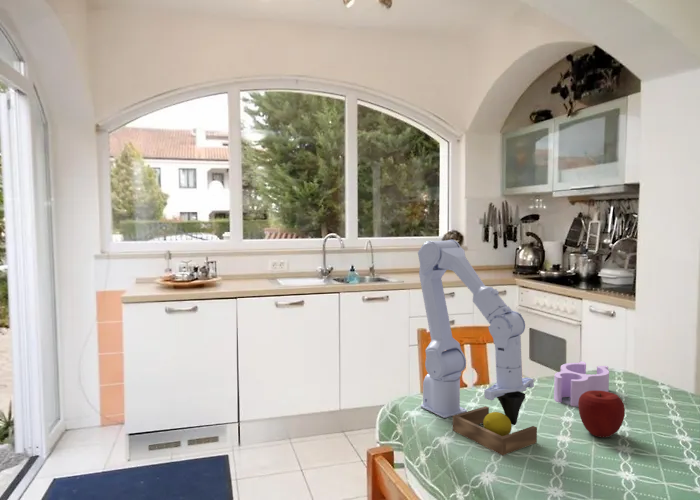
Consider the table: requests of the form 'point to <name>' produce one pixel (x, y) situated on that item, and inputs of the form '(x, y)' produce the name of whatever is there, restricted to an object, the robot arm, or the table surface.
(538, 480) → the table surface
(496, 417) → the lemon
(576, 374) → the clip
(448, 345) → the robot arm
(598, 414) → the apple
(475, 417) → the frame
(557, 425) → the table surface
